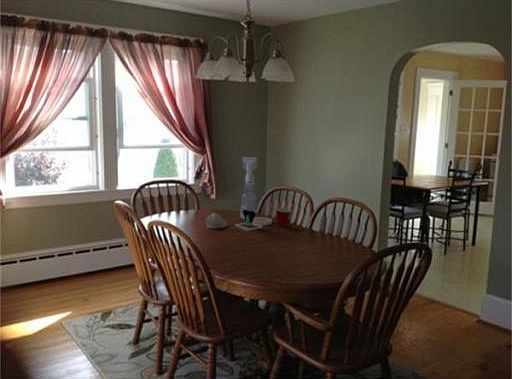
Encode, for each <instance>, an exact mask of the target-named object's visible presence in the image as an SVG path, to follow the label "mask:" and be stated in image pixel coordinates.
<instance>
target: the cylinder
mask: <svg viewBox="0 0 512 379" xmlns="http://www.w3.org/2000/svg"><path fill="white" fill-rule="evenodd" d="M245 223H246V224H245V225H246V226H253V225H252V223H250V221H249V215H246V221H245Z"/></svg>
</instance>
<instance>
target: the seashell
mask: <svg viewBox="0 0 512 379" xmlns="http://www.w3.org/2000/svg"><path fill="white" fill-rule="evenodd" d="M205 224H206V227H207V229H208V228H209V230H212V229H213V230H215V229H223V228H227V227H228V226H229V225H228V222H227V220H226V219H223V218H222V217H221V216H220V215H219V214H218V213H216V212H213V213H211V214H210V215H208V216H207V217H206V219H205Z"/></svg>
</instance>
